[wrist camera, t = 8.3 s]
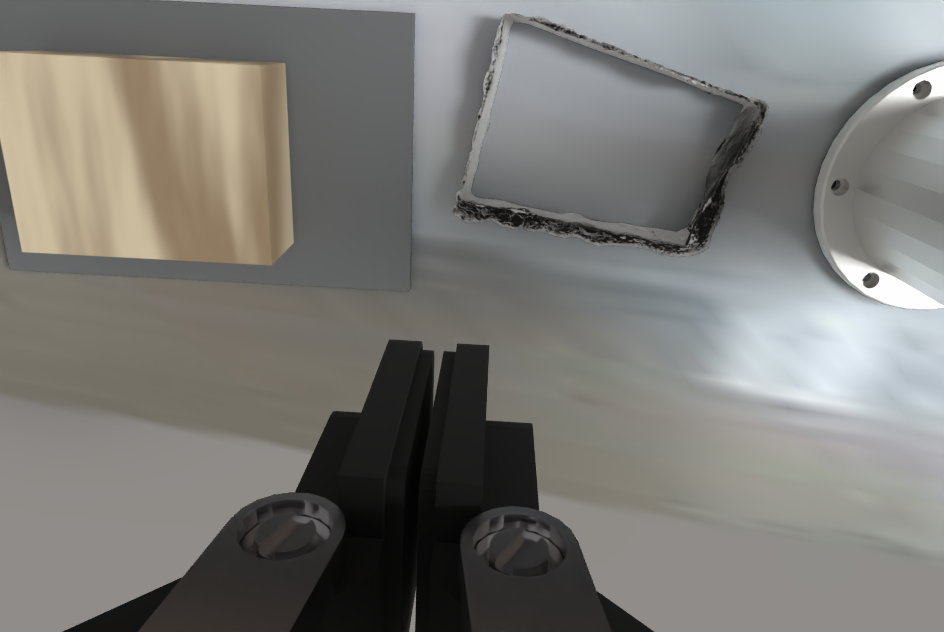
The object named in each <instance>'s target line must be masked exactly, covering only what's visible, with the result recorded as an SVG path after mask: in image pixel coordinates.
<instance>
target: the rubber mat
mask: <svg viewBox="0 0 944 632" xmlns="http://www.w3.org/2000/svg"><path fill="white" fill-rule="evenodd" d="M414 37H415V13H399V12H379V11H359V10H340V9H320V8H300V7H280V6H260V5H241V4H221V3H201V2H181V1H162V0H0V51H26V50H45V51H64V52H84V53H103V54H123V55H142V56H162V57H181V58H201V59H220V60H240V61H260V62H279V63H285V67H286V88H287V110H288V131H289V152H290V173H291V194H292V215H293V236H294V243H293V244H292V245H291V246H290V247H289V248H288V249H287V250H286V251H285V252H284V253H283V254H282V255H281V256H280V258H279V259H278V260H277V261H276V262H275V263H274V264H273V265H255V264H236V263H218V262H199V261H180V260H161V259H143V258H124V257H105V256H86V255H68V254H49V253H30V252H22V249H21V244H20V238H19V233H18V228H17V223H16V218H15V213H14V208H13V203H12V197H11V192H10V187H9V182H8V177H7V172H6V167H5V162H4V156H3V151H2V146H1V141H0V225H1V229H2V234H3V239H4V244H5V249H6V254H7V259H8V264H9V269H10V270H17V271H36V272H54V273H73V274H92V275H110V276H129V277H148V278H166V279H185V280H204V281H222V282H241V283H260V284H278V285H297V286H316V287H334V288H353V289H372V290H390V291H410V287H411V224H412V162H413V100H414Z"/></svg>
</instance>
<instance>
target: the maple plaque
mask: <svg viewBox="0 0 944 632" xmlns="http://www.w3.org/2000/svg"><path fill="white" fill-rule="evenodd" d="M0 141H1V146H2V151H3V156H4V162H5V167H6V172H7V177H8V182H9V187H10V192H11V197H12V203H13V208H14V213H15V218H16V223H17V228H18V233H19V238H20V244H21V249H22V252H30V253H49V254H68V255H86V256H105V257H124V258H143V259H161V260H180V261H199V262H218V263H236V264H255V265H273V264H274V263H275V262H276V261H277V260H278V259H279V258H280V256H281V255H282V254H283V253H284V252H285V251H286V250H287V249H288V248H289V247H290V246H291V245H292V244H293V243H294V236H293V215H292V194H291V173H290V152H289V131H288V110H287V88H286V67H285V63H279V62H260V61H240V60H220V59H201V58H181V57H162V56H142V55H123V54H103V53H84V52H64V51H45V50H26V51H0Z"/></svg>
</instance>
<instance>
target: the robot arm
mask: <svg viewBox="0 0 944 632" xmlns="http://www.w3.org/2000/svg"><path fill="white" fill-rule="evenodd" d="M915 85H916V90H915V92H914V93H913V88H914V86H915ZM834 181H836V185H835V187H833V188H831V186H832V184H833V182H834ZM813 214H814V222H815V230H816V235H817V238H818V241H819V244H820V247H821V249H822V252H823V254H824V256H825V257H826V259H827V260H828V262H829V264H830V265H831V267H832V268H833V270H834V271H835V272H836V273H837V274H838V275H839V276H840V277H841V278H842V279H843V280H844V281H845V282H846V283H847V284H849V285H850V286H851V287H853V288H854V289H856V290H857V291H858V292H860V293H861V294H863V295H865V296H867V297H869V298H871V299H873V300H875V301H878V302H880V303H882V304H885V305H889V306H893V307H898V308H902V309H914V310H931V309H940V308H944V61H941V62H937V63H934V64H931V65H928V66H925V67H922V68H919V69H916V70H913V71H912V72H910V73H908V74H906V75H904V76H902V77H900V78H898V79H897V80H895V81H893V82H891V83H889V84H888V85H886V86H885V87H884V88H882V89H881V90H880V91H879V92H877V93H876V94H875V95H873V96H872V97H871V98H869V99H868V100H867V101H866V102H865V103H864V104H863V105H862V106H861V107H860V108H859V109H858V110H857V111H856V112H855V113H854V114H853V115H852V116H851V117H850V118H849V119H848V121H847V122H846V123H845V125H844V126H843V128H842V129H841V131H840V132H839V134H838V135H837V136H836V138H835V139H834V141H833V142H832V144H831V146H830V149H829V151H828V153H827V155H826V157H825V159H824V161H823V163H822V165H821V169H820V173H819V176H818V180H817V184H816V187H815V196H814V208H813ZM865 275H866V277H865V278H864V276H865ZM863 278H864V279H863ZM488 362H489V346H488V345H472V344H457V348H456V352H447V351H444V353H443V359H442V364H441V369H440V374H439V380H438V385H437V390H436V395H435V401H434V406H433V388H434V351H430V350H423V344H422V342H421V341H405V340H389V341H388V344H387V347H386V349H385V352H384V354H383V357H382V360H381V362H380V365H379V368H378V370H377V373H376V375H375V378H374V381H373V383H372V386H371V389H370V391H369V394H368V396H367V399H366V402H365V404H364V407H363V410H362V412H361V413H358V412H342V411H334V412H333V413H332V414H331V416H330V418H329V420H328V422H327V424H326V426H325V428H324V431H323V433H322V435H321V437H320V439H319V441H318V444H317V446H316V448H315V450H314V452H313V454H312V457H311V459H310V461H309V463H308V465H307V468H306V470H305V472H304V474H303V476H302V478H301V481H300V483H299V485H298V487H297V489H296V492H290V493H282V494H274V495H271V496H268V497H265V498H261V499H258V500H256V501H254V502H252V503H250V504H249V505H247V506H245V507H243V508H242V509H240V511H238V512H237V513H236V514H235V515H234V516H233V517H232V518H231V519H230V520H229V521H228V522H227V524H226V525H225V526H224V527H223V528H222V530H221V531H220V532H219V533H218V534H217V536H216V537H215V538H214V539H213V541H212V542H211V543H210V544H209V545H208V547H207V548H206V549H205V550H204V552H203V553H202V554H201V555H200V556H199V558H198V559H197V560H196V561H195V563H194V564H193V565H192V566H191V567H190V569H189V570H188V571H187V572H186V574H185V575H184V576H183V577H182V578H180V579H177V580H175V581H173V582H171V583H169V584H166V585H164V586H162V587H160V588H158V589H155V590H153V591H151V592H149V593H147V594H144V595H142V596H140V597H138V598H136V599H134V600H131V601H129V602H127V603H125V604H122V605H120V606H118V607H116V608H114V609H111V610H110V611H107V612H105V613H103V614H101V615H98V616H96V617H94V618H92V619H90V620H87V621H85V622H83V623H81V624H79V625H76V626H75V627H72V628H70V629H68V630H65V631H63V632H409V628H410V622H411V615H412V609H413V603H414V597H415V591H416V622H415V623H416V624H415V632H654V631H652V630H651V629H649V628H648V627H647V626H645V625H644V624H643V623H641V622H640V621H638V620H637V619H635V618H634V617H633V616H631V615H630V614H628V613H627V612H626V611H624V610H623V609H621V608H620V607H618V606H617V605H616V604H614V603H613V602H611V601H610V600H609V599H607V598H606V597H604V596H603V595H602V594H600V593H599V592H597V591H596V588H595V586H594V583H593V580H592V578H591V575H590V572H589V569H588V567H587V564H586V562H585V559H584V556H583V553H582V550H581V548H580V546H579V542H578V540H577V539H576V537H575V535H574V534H573V532H572V530H571V529H570V528H569V527H567V526H566V525H565V524H564V523H563V522H562V521H560V520H559V519H557V518H555V517H553V516H551V515H549V514H547V513H545V512H542V511H539V503H538V490H537V477H536V464H535V450H534V437H533V426H532V423H518V422H502V421H486V405H487V383H488Z"/></svg>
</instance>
